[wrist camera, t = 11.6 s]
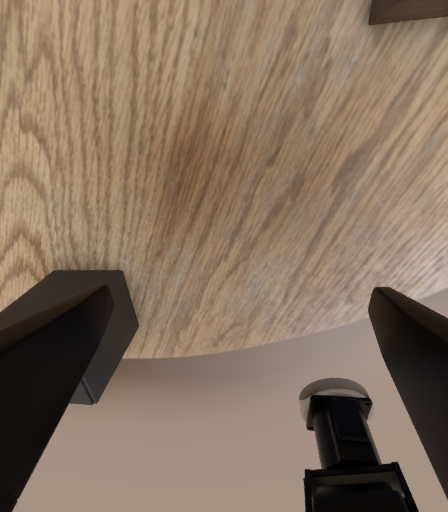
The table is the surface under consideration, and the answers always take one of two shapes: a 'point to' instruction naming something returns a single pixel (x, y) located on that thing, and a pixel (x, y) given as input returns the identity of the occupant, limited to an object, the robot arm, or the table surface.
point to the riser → (116, 333)
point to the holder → (406, 10)
